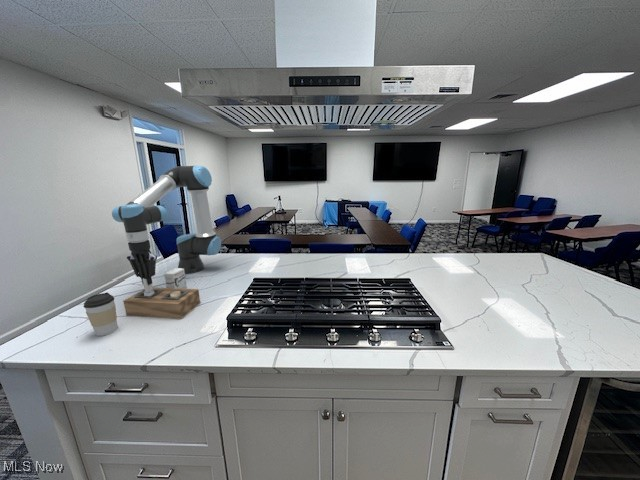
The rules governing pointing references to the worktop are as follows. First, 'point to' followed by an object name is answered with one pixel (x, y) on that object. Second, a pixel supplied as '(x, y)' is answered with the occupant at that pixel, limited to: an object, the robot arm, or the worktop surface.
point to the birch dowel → (175, 294)
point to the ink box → (176, 278)
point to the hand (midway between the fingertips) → (149, 290)
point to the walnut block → (162, 303)
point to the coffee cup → (101, 313)
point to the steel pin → (149, 293)
